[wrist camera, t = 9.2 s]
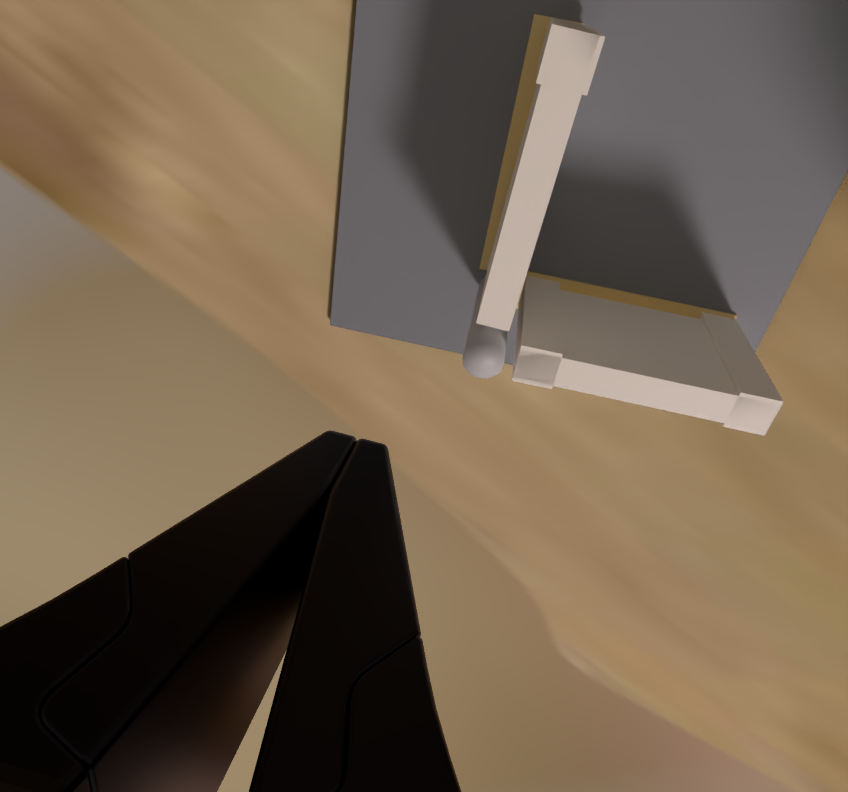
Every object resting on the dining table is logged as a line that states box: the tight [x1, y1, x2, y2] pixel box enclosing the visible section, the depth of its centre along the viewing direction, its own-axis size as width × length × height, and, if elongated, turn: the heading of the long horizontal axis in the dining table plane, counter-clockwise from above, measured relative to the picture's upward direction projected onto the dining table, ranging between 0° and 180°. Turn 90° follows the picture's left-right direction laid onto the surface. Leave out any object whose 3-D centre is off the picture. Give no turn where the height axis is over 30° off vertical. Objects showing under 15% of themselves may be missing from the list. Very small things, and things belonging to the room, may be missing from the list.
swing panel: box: [463, 17, 605, 378], centre depth 15 cm, size 8×1×4 cm, turn 169°
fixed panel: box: [512, 275, 784, 436], centre depth 17 cm, size 6×1×4 cm, turn 81°
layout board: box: [330, 0, 848, 365], centre depth 18 cm, size 13×12×1 cm
